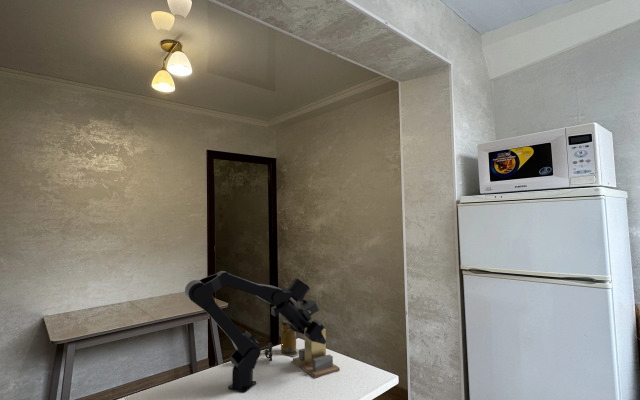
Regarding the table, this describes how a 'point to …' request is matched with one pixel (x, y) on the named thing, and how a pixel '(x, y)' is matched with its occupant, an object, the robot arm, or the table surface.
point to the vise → (317, 364)
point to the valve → (267, 352)
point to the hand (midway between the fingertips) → (318, 339)
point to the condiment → (288, 341)
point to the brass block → (314, 349)
